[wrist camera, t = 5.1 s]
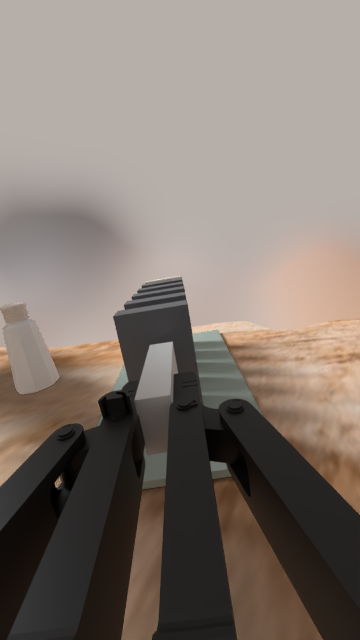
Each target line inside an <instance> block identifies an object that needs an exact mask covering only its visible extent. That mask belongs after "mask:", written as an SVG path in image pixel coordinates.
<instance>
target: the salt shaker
mask: <svg viewBox="0 0 360 640" xmlns="http://www.w3.org/2000/svg"><path fill="white" fill-rule="evenodd" d="M0 310H1V312H2V313H3V316H4V319H5V321H6V323H7V326H5V327H3V334H4V339H5V343H6V348H7V352H8V357H9V362H10V366H11V371H12V375H13V380H14V384H15V389H16V391H17V392H19V393H20V394H21V395H23V394H30V393H36V392H39V391H41V390H43V389H45V388H48V387H50V386H52V385H53V384H54V383H55V382H56V381H57V380H58V379H59V378H60V376H59V373H58V371H57V369H56V366H55V364H54V362H53V360H52V357H51V355H50V353H49V351H48V348H47V346H46V344H45V342H44V339H43V337H42V335H41V333H40V331H39V328H38V326H37V324H36V322H35V321H34V320H30V319H29V316H28V313H27V310H26V304H25V303H24V302H19V303H13V304H8V305H5V306H2V307H1V308H0Z"/></svg>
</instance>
